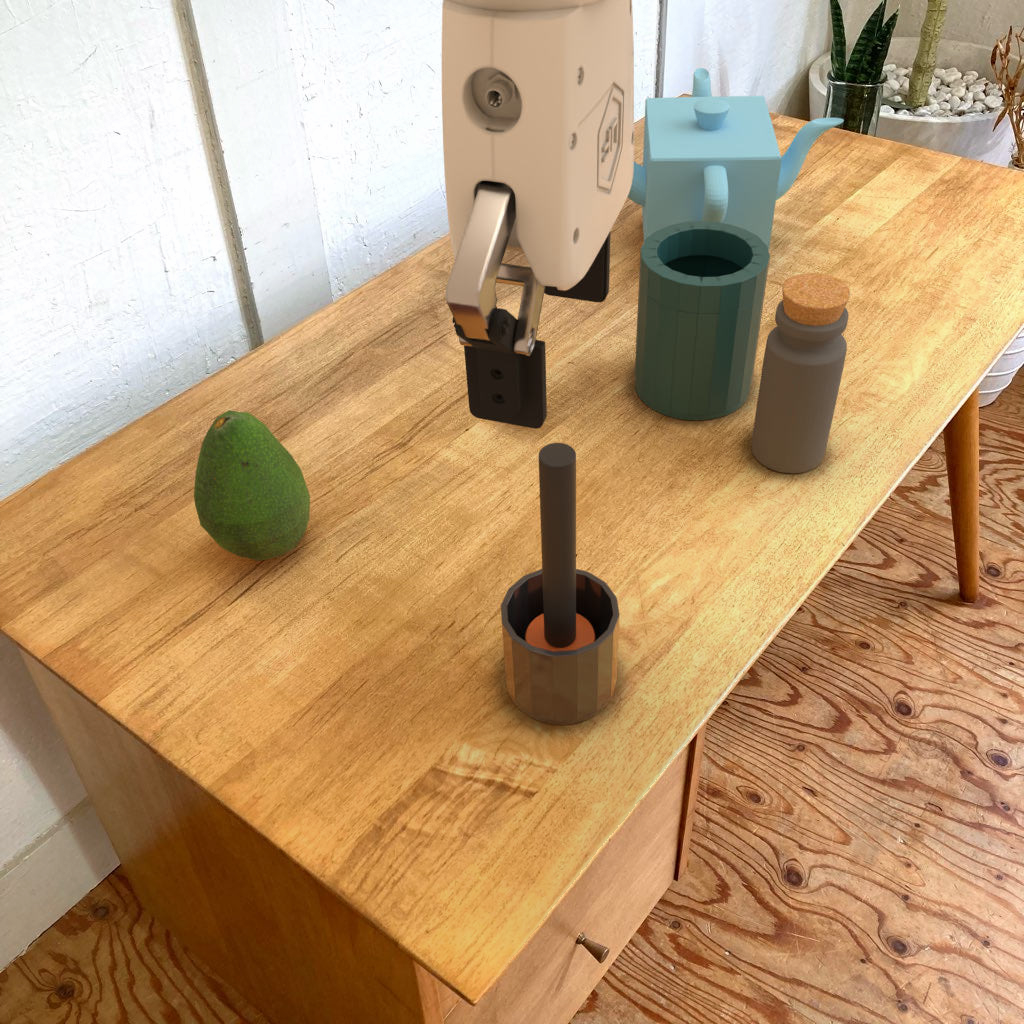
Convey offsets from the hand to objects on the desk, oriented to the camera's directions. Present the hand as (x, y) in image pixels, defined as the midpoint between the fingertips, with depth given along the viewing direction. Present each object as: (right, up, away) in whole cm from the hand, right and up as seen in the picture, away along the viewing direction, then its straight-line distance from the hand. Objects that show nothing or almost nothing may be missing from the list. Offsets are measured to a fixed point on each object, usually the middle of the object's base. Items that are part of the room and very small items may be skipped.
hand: (543, 353), depth 47 cm
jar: (+14, +4, +45) cm, 47 cm away
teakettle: (+18, +21, +63) cm, 69 cm away
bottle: (+21, -2, +38) cm, 44 cm away
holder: (+2, -18, +23) cm, 29 cm away
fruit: (-20, -10, +33) cm, 40 cm away
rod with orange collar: (+2, -18, +22) cm, 28 cm away
